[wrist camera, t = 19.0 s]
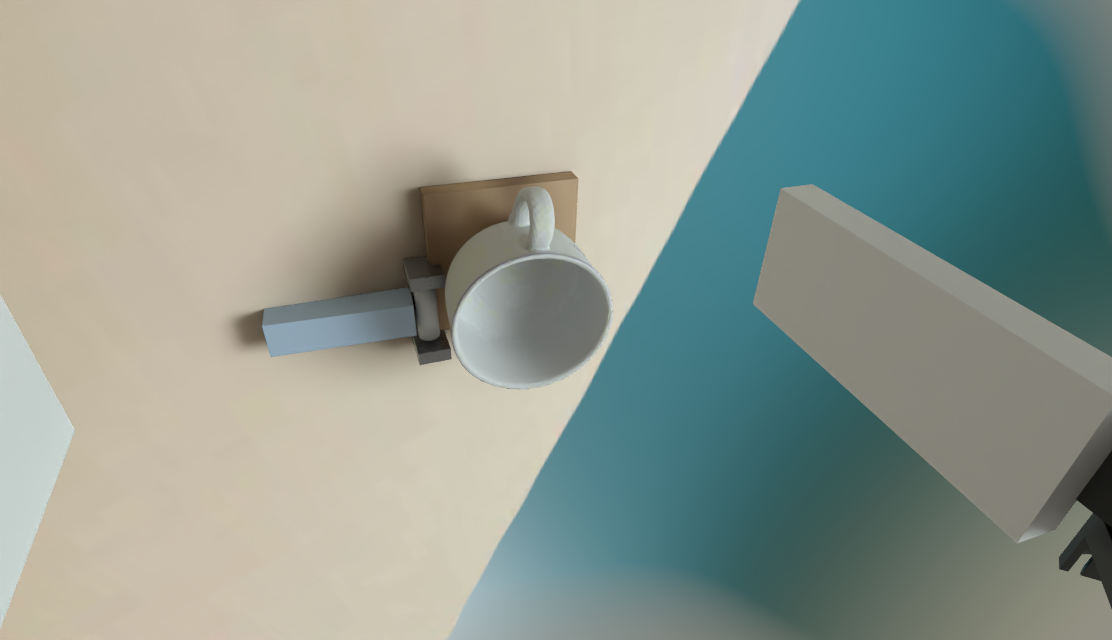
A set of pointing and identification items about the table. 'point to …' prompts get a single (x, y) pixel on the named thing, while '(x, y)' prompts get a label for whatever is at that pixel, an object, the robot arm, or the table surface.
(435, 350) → the hinge cheek
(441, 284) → the hinge cheek
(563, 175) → the board
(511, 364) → the teacup
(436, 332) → the leg
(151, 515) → the table surface
